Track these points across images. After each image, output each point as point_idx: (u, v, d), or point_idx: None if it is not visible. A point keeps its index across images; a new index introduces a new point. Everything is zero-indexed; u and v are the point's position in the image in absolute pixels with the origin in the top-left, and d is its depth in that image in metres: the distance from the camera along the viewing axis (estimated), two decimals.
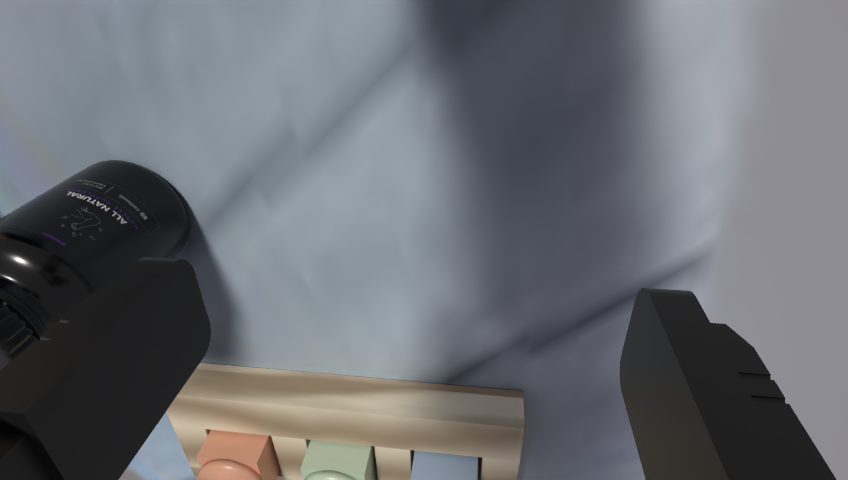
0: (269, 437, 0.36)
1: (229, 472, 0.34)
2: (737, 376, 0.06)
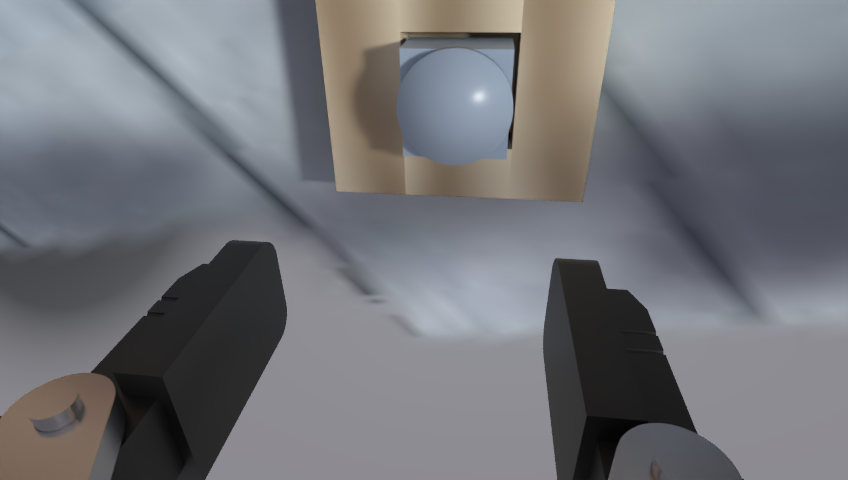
0: None
1: None
2: (617, 329, 0.07)
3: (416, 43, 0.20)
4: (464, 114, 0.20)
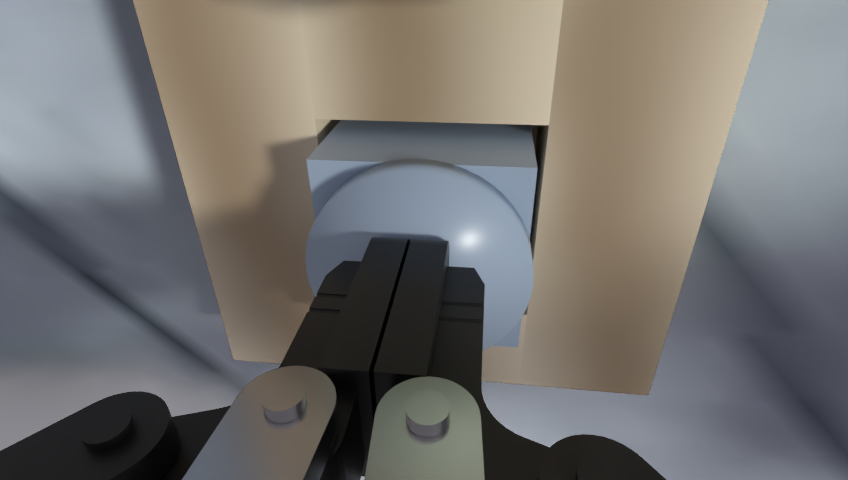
0: None
1: None
2: (436, 300, 0.08)
3: (347, 140, 0.11)
4: None
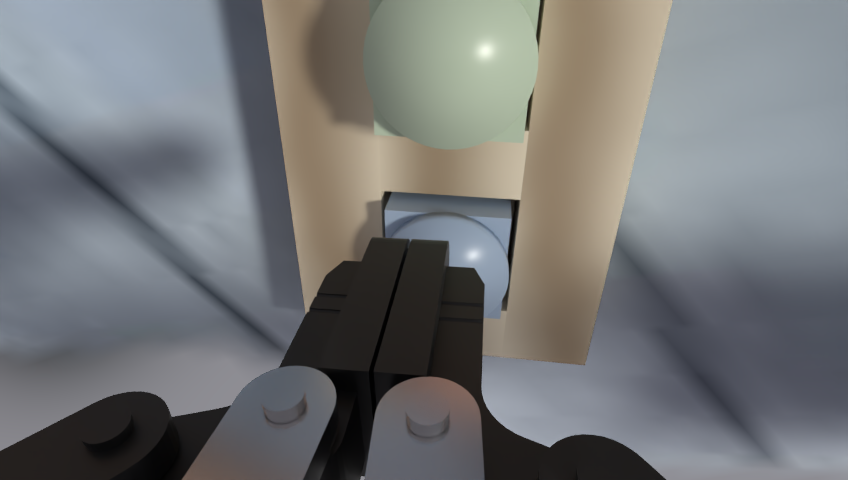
0: None
1: None
2: (436, 300, 0.08)
3: (404, 197, 0.19)
4: None
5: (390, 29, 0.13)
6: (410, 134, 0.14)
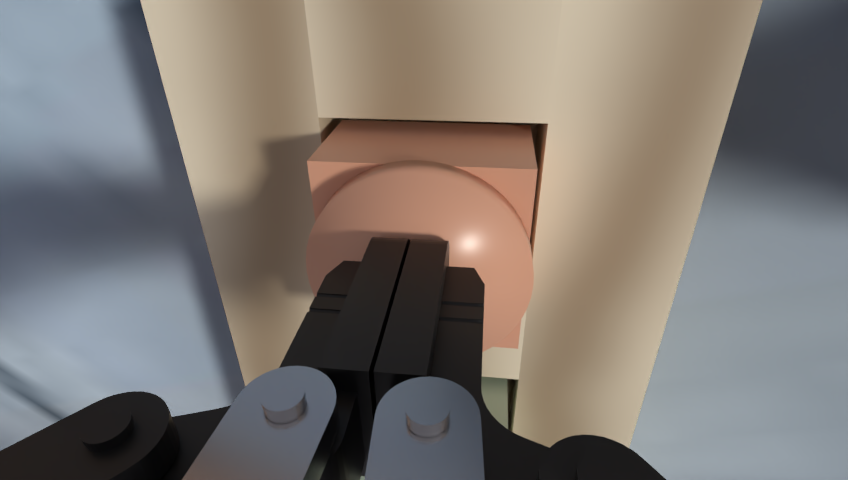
0: None
1: (505, 302, 0.10)
2: (436, 299, 0.08)
3: None
4: None
5: None
6: None
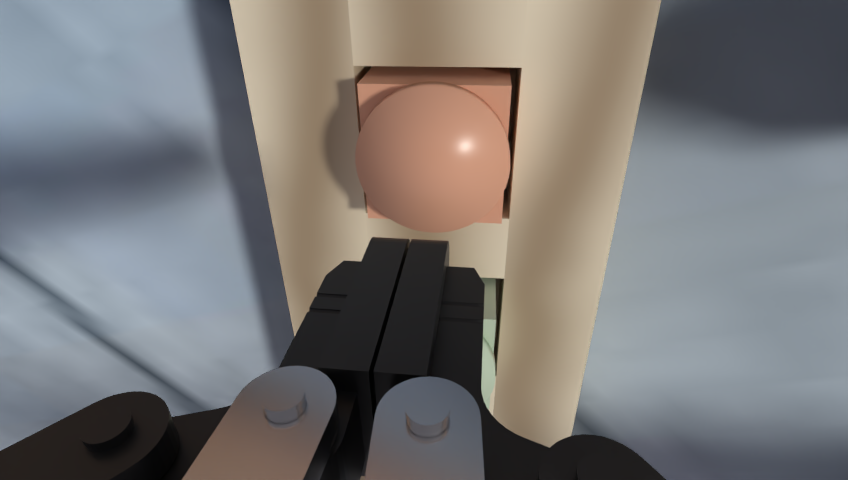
0: None
1: (491, 180, 0.15)
2: (436, 300, 0.08)
3: None
4: None
5: None
6: None
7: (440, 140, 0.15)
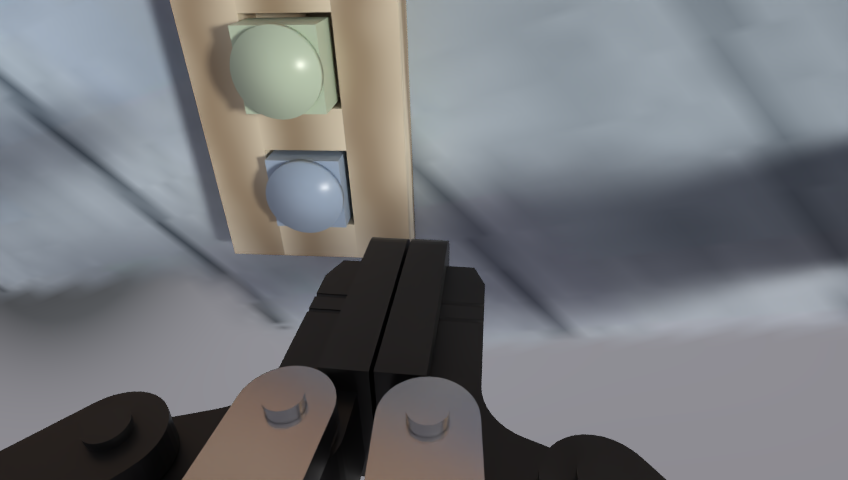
0: None
1: None
2: (436, 300, 0.08)
3: (279, 153, 0.30)
4: (310, 201, 0.30)
5: (241, 56, 0.25)
6: (262, 112, 0.26)
7: None
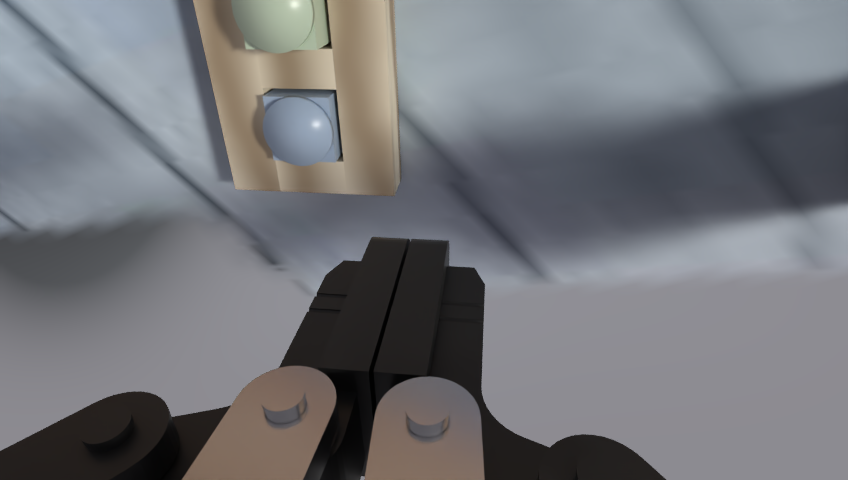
0: None
1: None
2: (436, 300, 0.08)
3: (276, 92, 0.34)
4: (303, 135, 0.33)
5: None
6: (259, 46, 0.29)
7: None
